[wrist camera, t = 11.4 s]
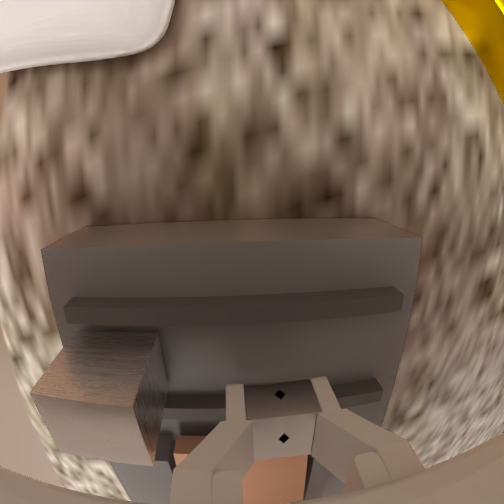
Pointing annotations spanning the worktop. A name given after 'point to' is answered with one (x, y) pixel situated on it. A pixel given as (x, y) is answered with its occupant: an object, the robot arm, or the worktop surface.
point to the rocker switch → (261, 475)
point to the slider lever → (105, 396)
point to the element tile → (483, 33)
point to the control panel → (243, 315)
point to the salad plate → (78, 30)
